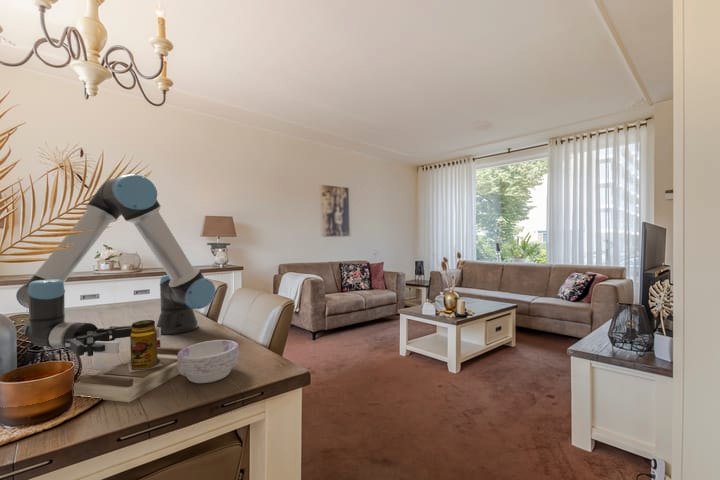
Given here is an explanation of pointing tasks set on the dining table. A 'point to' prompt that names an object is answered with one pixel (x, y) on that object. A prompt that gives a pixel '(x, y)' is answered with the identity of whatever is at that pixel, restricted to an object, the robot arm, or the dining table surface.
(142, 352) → the condiment
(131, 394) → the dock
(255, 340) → the dining table surface
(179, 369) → the paper bowls
